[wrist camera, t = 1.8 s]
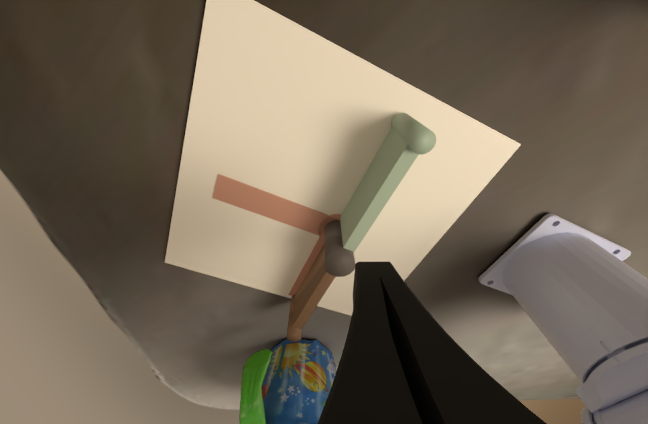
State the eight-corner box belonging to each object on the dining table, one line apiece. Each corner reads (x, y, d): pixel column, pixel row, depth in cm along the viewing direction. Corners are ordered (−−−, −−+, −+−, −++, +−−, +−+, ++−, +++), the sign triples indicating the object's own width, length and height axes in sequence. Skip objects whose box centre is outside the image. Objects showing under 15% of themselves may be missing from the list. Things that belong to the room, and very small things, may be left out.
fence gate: (415, 117, 15) (441, 135, 12) (351, 222, 19) (358, 258, 16) (398, 109, 15) (420, 125, 12) (337, 216, 19) (340, 252, 16)
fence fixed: (354, 224, 20) (360, 260, 16) (305, 304, 25) (302, 343, 21) (330, 215, 19) (332, 250, 16) (285, 298, 24) (279, 338, 21)
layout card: (518, 143, 17) (522, 144, 17) (369, 318, 26) (369, 321, 26) (212, -22, 12) (209, -24, 12) (166, 260, 22) (164, 263, 22)
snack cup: (226, 324, 27) (181, 452, 18) (321, 301, 25) (320, 432, 16) (285, 391, 35) (273, 503, 26) (361, 378, 33) (375, 493, 24)
